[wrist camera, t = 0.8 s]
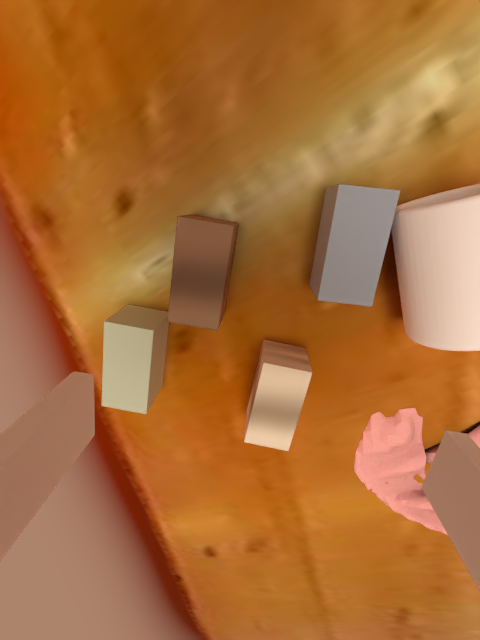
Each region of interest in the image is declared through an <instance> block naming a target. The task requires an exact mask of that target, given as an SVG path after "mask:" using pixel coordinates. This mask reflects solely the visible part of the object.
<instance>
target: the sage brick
mask: <svg viewBox="0 0 480 640" xmlns="http://www.w3.org/2000/svg"><path fill="white" fill-rule="evenodd" d="M168 328H169V322H168V312H167V311H162V310H157V309H151V308H146V307H140V306H135V305H130V304H128V305H127V306H125V307H124V308H122V309H121V310H120V311H118V312H117V313H115V314H114V315H113V316H111V317H110V318H108V319H107V320H106V321H104V345H103V378H102V406H105V407H111V408H116V409H121V410H127V411H132V412H137V413H143V414H147V412H148V410H149V409H150V407H151V405H152V403H153V402H154V400H155V398H156V396H157V394H158V393H159V391H160V389H161V387H162V386H163V377H164V367H165V357H166V348H167V338H168Z"/></svg>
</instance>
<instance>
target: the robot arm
mask: <svg viewBox="0 0 480 640" xmlns="http://www.w3.org/2000/svg"><path fill="white" fill-rule="evenodd" d="M94 425H95V424H94V375H93V374H87V373H80V372H72V373H71V374H70V375H69V376H68V377H67V378H65V379H64V380H63V381H62V382H61V383H60V384H58V385H57V386H56V387H55V388H54V389H53V390H51V391H50V392H49V393H48V394H47V395H46V396H44V397H43V398H42V399H41V400H40V401H39V402H38V403H36V404H35V405H34V406H33V407H32V408H31V409H29V410H28V411H27V412H26V413H25V414H23V415H22V416H21V417H20V418H19V419H18V420H17V421H15V422H14V423H13V424H12V425H11V426H10V427H9V428H7V429H6V430H5V431H4V432H3V433H1V434H0V561H1V560H2V558H3V557H4V556H5V554H6V553H7V552H8V550H9V549H10V548H11V546H12V545H13V544H14V542H15V541H16V540H17V538H18V537H19V536H20V534H21V533H22V532H23V530H24V529H25V528H26V526H27V525H28V524H29V522H30V521H31V520H32V518H33V517H34V516H35V514H36V513H37V512H38V510H39V509H40V508H41V506H42V505H43V504H44V502H45V501H46V499H47V498H48V497H49V495H50V494H51V493H52V491H53V490H54V489H55V487H56V486H57V485H58V483H59V482H60V481H61V479H62V478H63V477H64V475H65V474H66V472H67V471H68V470H69V468H70V467H71V466H72V465H73V463H74V462H75V461H76V459H77V458H78V456H79V455H80V454H81V452H82V451H83V450H84V449H85V447H86V446H87V444H88V443H89V442H90V440H91V439H92V438H93V436H94V435H95V428H94V427H95V426H94ZM422 490H423V491H424V493H425V495H426V497H427V498H428V500H429V502H430V504H431V506H432V507H433V509H434V511H435V513H436V514H437V516H438V518H439V520H440V521H441V523H442V525H443V527H444V529H445V530H446V532H447V534H448V536H449V537H450V539H451V541H452V543H453V544H454V546H455V548H456V550H457V551H458V553H459V555H460V557H461V559H462V560H463V562H464V564H465V566H466V567H467V569H468V571H469V573H470V574H471V576H472V578H473V580H474V582H475V583H476V585H477V587H478V589H479V590H480V448H479V447H478V445H477V444H476V443H475V442H474V441H473V440H472V439H471V438H470V437H469V435H468V434H466V433H460V432H454V431H447V430H446V431H445V433H444V436H443V438H442V440H441V443H440V445H439V448H438V450H437V452H436V455H435V457H434V459H433V462H432V464H431V466H430V469H429V471H428V473H427V476H426V478H425V481H424V483H423V485H422Z"/></svg>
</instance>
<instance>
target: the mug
mask: <svg viewBox="0 0 480 640" xmlns="http://www.w3.org/2000/svg"><path fill="white" fill-rule="evenodd" d="M391 230H392V238H393V246H394V253H395V261H396V269H397V276H398V284H399V292H400V299H401V307H402V314H403V322H404V330H405V333H406V335H407V336H408V337H409V338H410V339H411V340H413V341H414V342H416V343H418V344H421V345H424V346H427V347H431V348H435V349H441V350H450V351H478V350H480V183H479V184H475V185H470V186H465V187H461V188H457V189H453V190H448V191H444V192H440V193H437V194H433V195H429V196H426V197H422V198H419V199H415V200H412V201H409V202H406V203H403V204H401V205H398V206H396V211H395V215H394V219H393V223H392V227H391Z"/></svg>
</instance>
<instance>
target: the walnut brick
mask: <svg viewBox="0 0 480 640" xmlns="http://www.w3.org/2000/svg"><path fill="white" fill-rule="evenodd" d="M238 225H239V223H236V222H230V221H224V220H219V219H213V218H208V217H202V216H196V215H185V216H178V218H177V228H176V238H175V249H174V259H173V270H172V280H171V290H170V301H169V311H168V322H172V323H177V324H183V325H188V326H194V327H199V328H205V329H210V330H216V331H218V328H219V326H220V323H221V320H222V318H223V315H224V312H225V307H226V300H227V294H228V288H229V281H230V275H231V269H232V262H233V256H234V250H235V243H236V237H237V231H238Z"/></svg>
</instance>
